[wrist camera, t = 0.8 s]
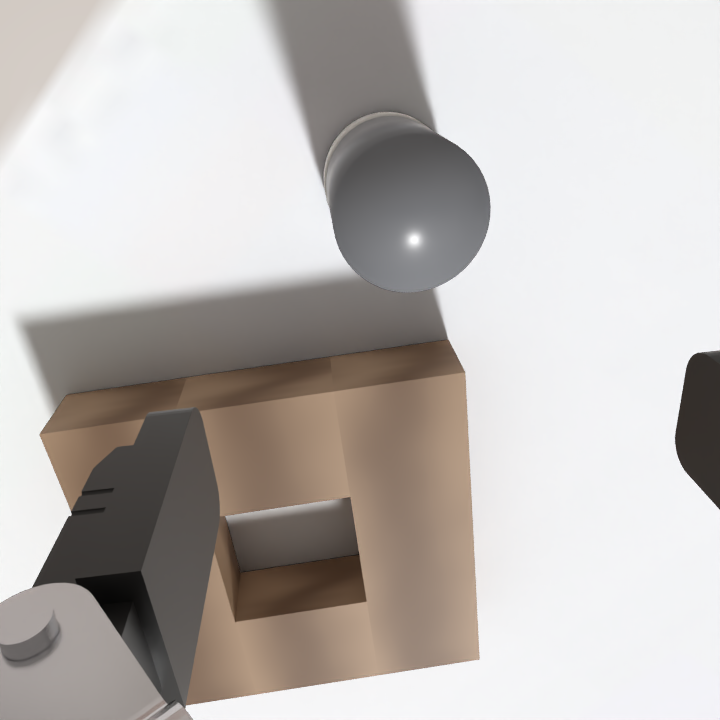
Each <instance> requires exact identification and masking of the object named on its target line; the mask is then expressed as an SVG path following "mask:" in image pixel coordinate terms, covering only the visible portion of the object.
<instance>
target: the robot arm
mask: <svg viewBox="0 0 720 720" xmlns="http://www.w3.org/2000/svg"><path fill="white" fill-rule="evenodd" d="M675 444H676V451H677V455H678V458H679V460H680V463H681V465H682V467H683V468H684V470H685V471H686V472H687V474H688V475H689V476H690V477H691V478H692V479H693V480H694V481H695V483H696V484H697V485H698V486H699V487H700V488H701V489H702V490H703V491H704V493H705V494H706V495H707V496H708V497H709V498H710V499H711V500H712V501H713V502H714V504H715V505H716V506H717V507H718V508H719V509H720V351H711V352H702V353H697V354H695V355H693V356H692V357H691V358H690V360H689V362H688V365H687V368H686V373H685V379H684V385H683V391H682V397H681V403H680V410H679V416H678V422H677V428H676V434H675ZM81 492H82V496H79V497H78V499H77V501H76V503H75V505H74V507H73V509H72V511H71V513H72V515H71V516H69V517H68V519H67V520H66V522H65V524H64V526H63V528H62V530H61V532H60V534H59V536H58V538H57V540H56V542H55V544H54V546H53V548H52V550H51V552H50V554H49V556H48V558H47V560H46V561H45V563H44V565H43V567H42V569H41V571H40V573H39V575H38V577H37V579H36V581H35V583H34V585H33V587H32V588H30V589H28V590H25V591H22V592H20V593H18V594H16V595H14V596H12V597H10V598H8V599H6V600H5V601H3V602H1V603H0V720H193V719H192V718H191V716H190V715H189V714H188V712H187V711H186V710H185V707H186V701H187V696H188V690H189V685H190V679H191V674H192V669H193V663H194V658H195V652H196V647H197V642H198V636H199V631H200V625H201V620H202V615H203V609H204V604H205V598H206V593H207V587H208V582H209V577H210V571H211V566H212V560H213V555H214V550H215V544H216V539H217V533H218V528H219V521H220V501H219V491H218V486H217V481H216V476H215V472H214V468H213V463H212V459H211V455H210V450H209V446H208V441H207V437H206V433H205V428H204V424H203V420H202V416H201V414H200V411H199V410H198V408H196V407H192V408H183V409H174V410H165V411H156V412H149V413H148V414H147V416H146V418H145V420H144V422H143V424H142V427H141V429H140V431H139V433H138V436H137V438H136V440H135V443H134V445H129V446H120V447H116V448H115V449H114V450H113V451H112V452H111V453H110V454H108V455H107V456H106V457H105V458H104V459H103V460H102V461H101V462H100V463H98V464H97V465H96V466H95V467H94V468H93V470H92V472H91V474H90V476H89V478H88V479H87V481H86V483H85V485H84V487H83V489H82V491H81Z"/></svg>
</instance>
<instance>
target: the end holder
mask: <svg viewBox="0 0 720 720" xmlns="http://www.w3.org/2000/svg"><path fill="white" fill-rule="evenodd" d="M192 407H196V408H198V410H199V411H200V414H201V416H202V420H203V424H204V428H205V433H206V437H207V441H208V446H209V450H210V455H211V459H212V463H213V468H214V472H215V476H216V481H217V486H218V491H219V501H220V521H219V528H218V533H217V539H216V544H215V550H214V555H213V560H212V566H211V571H210V577H209V582H208V587H207V593H206V598H205V604H204V609H203V615H202V620H201V625H200V631H199V636H198V642H197V647H196V652H195V658H194V663H193V669H192V674H191V679H190V685H189V690H188V696H187V701H186V705H191V704H198V703H204V702H211V701H217V700H223V699H230V698H236V697H242V696H249V695H255V694H262V693H268V692H274V691H281V690H287V689H294V688H300V687H306V686H313V685H319V684H325V683H332V682H338V681H345V680H351V679H357V678H364V677H370V676H377V675H383V674H389V673H396V672H402V671H409V670H415V669H421V668H428V667H434V666H440V665H447V664H453V663H460V662H466V661H472V660H479V640H478V620H477V600H476V580H475V560H474V540H473V520H472V500H471V480H470V460H469V440H468V420H467V399H466V379H465V371H464V369H463V367H462V365H461V363H460V361H459V359H458V357H457V355H456V353H455V352H454V350H453V348H452V346H451V344H450V342H449V340H442V341H435V342H429V343H422V344H415V345H408V346H401V347H394V348H387V349H380V350H373V351H366V352H359V353H353V354H346V355H339V356H332V357H325V358H318V359H311V360H304V361H297V362H290V363H283V364H276V365H270V366H263V367H256V368H249V369H242V370H235V371H228V372H221V373H214V374H207V375H200V376H194V377H187V378H180V379H173V380H166V381H159V382H152V383H145V384H138V385H131V386H124V387H117V388H111V389H104V390H97V391H90V392H83V393H76V394H69V395H66V396H65V398H64V399H63V401H62V402H61V404H60V405H59V407H58V408H57V409H56V411H55V412H54V414H53V415H52V417H51V418H50V420H49V421H48V423H47V424H46V426H45V427H44V428H43V430H42V431H41V433H40V434H39V435H40V437H41V439H42V442H43V444H44V447H45V449H46V451H47V454H48V456H49V459H50V461H51V464H52V466H53V468H54V471H55V473H56V476H57V478H58V480H59V483H60V485H61V488H62V490H63V493H64V495H65V497H66V500H67V502H68V505H69V507H70V509H71V511H72V509H73V507H74V505H75V503H76V501H77V499H78V497H79V496H82V492H81V491H82V489H83V487H84V485H85V483H86V481H87V479H88V478H89V476H90V474H91V472H92V470H93V468H94V467H95V466H96V465H97V464H98V463H100V462H101V461H102V460H103V459H104V458H105V457H106V456H107V455H108V454H110V453H111V452H112V451H113V450H114V449H115V448H116V447H120V446H129V445H134V443H135V440H136V438H137V436H138V433H139V431H140V429H141V427H142V424H143V422H144V420H145V418H146V416H147V414H148V413H149V412H156V411H165V410H174V409H183V408H192ZM347 497H350V499H351V505H352V511H353V518H354V524H355V530H356V536H357V543H358V549H359V555H354V556H347V557H341V558H334V559H328V560H321V561H315V562H308V563H301V564H295V565H288V566H282V567H275V568H268V569H262V570H255V571H249V572H242V573H241V572H240V568H239V565H238V561H237V557H236V554H235V550H234V547H233V543H232V539H231V536H230V532H229V528H228V525H227V521H226V517H225V516H227V515H234V514H240V513H247V512H254V511H260V510H267V509H274V508H280V507H287V506H294V505H300V504H307V503H314V502H320V501H327V500H334V499H340V498H347Z"/></svg>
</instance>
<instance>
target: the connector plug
mask: <svg viewBox="0 0 720 720" xmlns="http://www.w3.org/2000/svg"><path fill="white" fill-rule="evenodd" d="M324 188H325V194H326V198H327V202H328V205H329V208H330V213H331V218H332V223H333V229H334V233H335V238H336V241H337V244H338V247H339V249H340V251H341V253H342V255H343V257H344V258H345V260H346V261H347V263H348V264H349V265H350V267H351V268H352V269H353V270H354V271H355V272H356V273H357V274H358V275H360V276H361V277H362V278H363V279H365V280H366V281H368V282H370V283H371V284H373V285H376V286H378V287H380V288H383V289H386V290H390V291H396V292H408V293H409V292H419V291H424V290H429V289H432V288H435V287H437V286H440V285H442V284H444V283H446V282H448V281H449V280H451V279H452V278H454V277H455V276H457V275H458V274H459V273H460V272H462V271H463V270H464V269H465V268H466V267H467V266H468V265H469V264H470V262H471V261H472V260H473V258H474V257H475V256H476V254H477V253H478V251H479V249H480V247H481V246H482V243H483V241H484V239H485V236H486V233H487V230H488V226H489V220H490V196H489V192H488V187H487V184H486V182H485V179H484V176H483V174H482V173H481V171H480V169H479V167H478V166H477V164H476V163H475V162H474V160H473V159H472V158H471V157H470V156H469V155H468V154H467V153H466V152H465V151H464V150H462V149H461V148H460V147H458V146H457V145H456V144H454V143H452V142H450V141H449V140H447V139H445V138H444V137H442V136H440V135H439V134H437V133H435V132H434V131H432V130H431V129H430V128H429V127H428V126H426V125H425V124H423V123H422V122H420V121H418V120H416V119H415V118H413V117H411V116H408V115H405V114H402V113H397V112H377V113H372V114H369V115H366V116H363V117H361V118H359V119H357V120H355V121H354V122H352V123H351V124H350V125H348V126H347V127H346V128H345V129H344V130H343V131H342V132H341V133H340V134H339V135H338V137H337V138H336V139H335V141H334V142H333V144H332V146H331V148H330V150H329V152H328V155H327V158H326V161H325V167H324Z"/></svg>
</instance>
